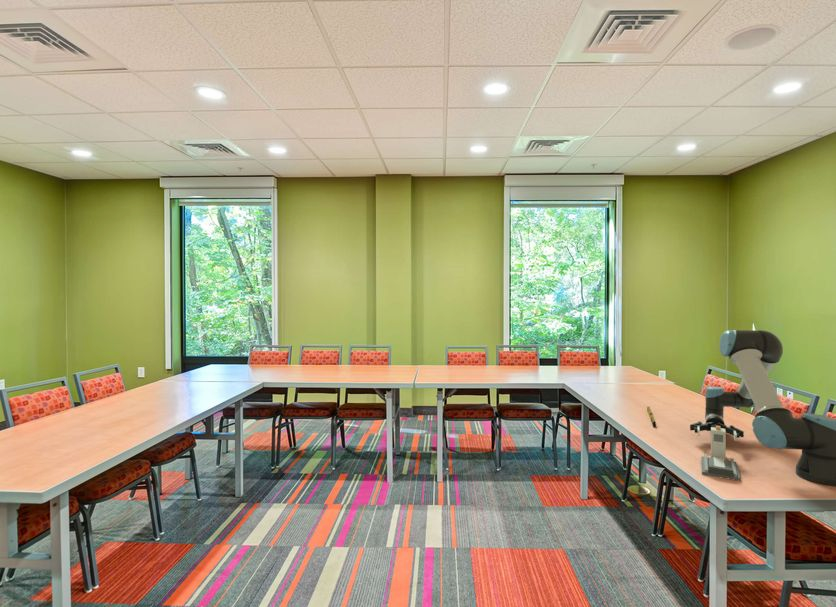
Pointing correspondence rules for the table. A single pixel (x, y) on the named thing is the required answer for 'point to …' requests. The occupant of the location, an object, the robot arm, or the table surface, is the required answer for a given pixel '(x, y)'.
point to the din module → (718, 442)
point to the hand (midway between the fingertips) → (716, 435)
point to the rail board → (727, 464)
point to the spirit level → (651, 417)
